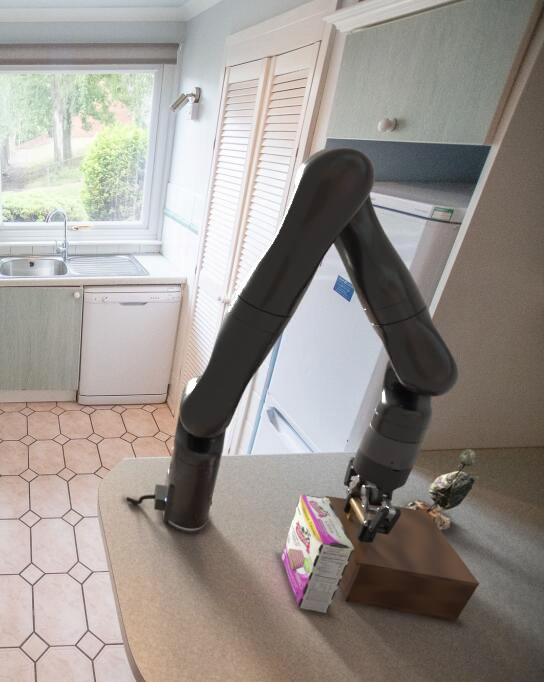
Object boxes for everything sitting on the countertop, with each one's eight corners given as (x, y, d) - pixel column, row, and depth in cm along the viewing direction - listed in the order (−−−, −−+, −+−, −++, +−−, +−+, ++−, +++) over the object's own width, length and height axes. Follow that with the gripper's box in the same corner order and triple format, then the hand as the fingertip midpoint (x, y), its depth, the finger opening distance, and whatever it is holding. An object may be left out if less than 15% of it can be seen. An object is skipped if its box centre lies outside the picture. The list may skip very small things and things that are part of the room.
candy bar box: (278, 556, 89) (299, 492, 82) (306, 560, 88) (329, 496, 81) (296, 609, 79) (322, 542, 72) (328, 615, 78) (357, 548, 71)
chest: (345, 601, 80) (361, 566, 77) (316, 531, 94) (328, 499, 91) (455, 622, 77) (477, 587, 73) (408, 546, 91) (424, 514, 87)
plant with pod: (470, 527, 95) (513, 451, 87) (425, 535, 93) (465, 458, 85) (433, 499, 103) (469, 426, 94) (391, 506, 101) (424, 432, 92)
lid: (355, 565, 77) (366, 541, 74) (323, 498, 91) (331, 476, 88) (477, 587, 73) (492, 563, 71) (424, 513, 87) (435, 491, 85)
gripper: (345, 424, 83) (320, 494, 90) (380, 477, 70) (348, 554, 77) (391, 430, 81) (362, 500, 88) (437, 485, 68) (398, 563, 75)
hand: (356, 525), depth 82 cm, fingers closed on lid, 6 cm apart
